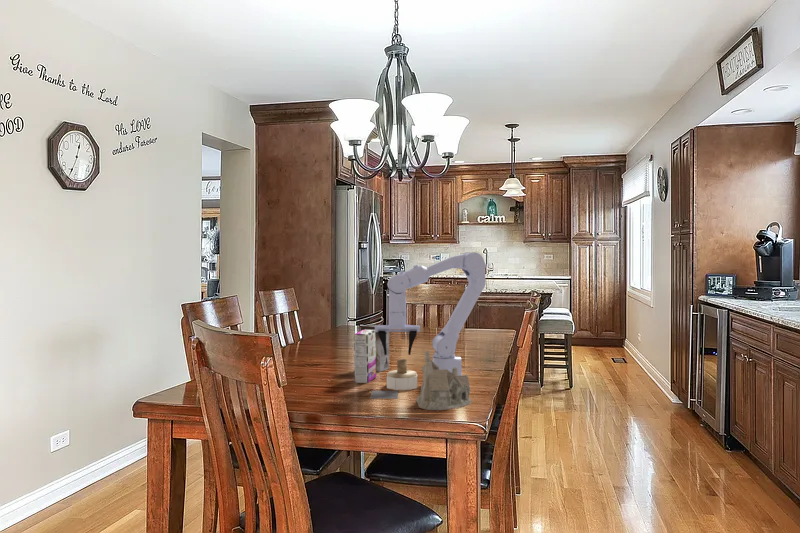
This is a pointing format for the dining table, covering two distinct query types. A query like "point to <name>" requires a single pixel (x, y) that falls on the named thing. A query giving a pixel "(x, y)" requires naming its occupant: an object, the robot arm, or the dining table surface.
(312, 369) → the dining table surface
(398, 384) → the bowl
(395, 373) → the lid
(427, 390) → the ceramic cottage
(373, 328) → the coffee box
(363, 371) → the candy bar box
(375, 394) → the mat
